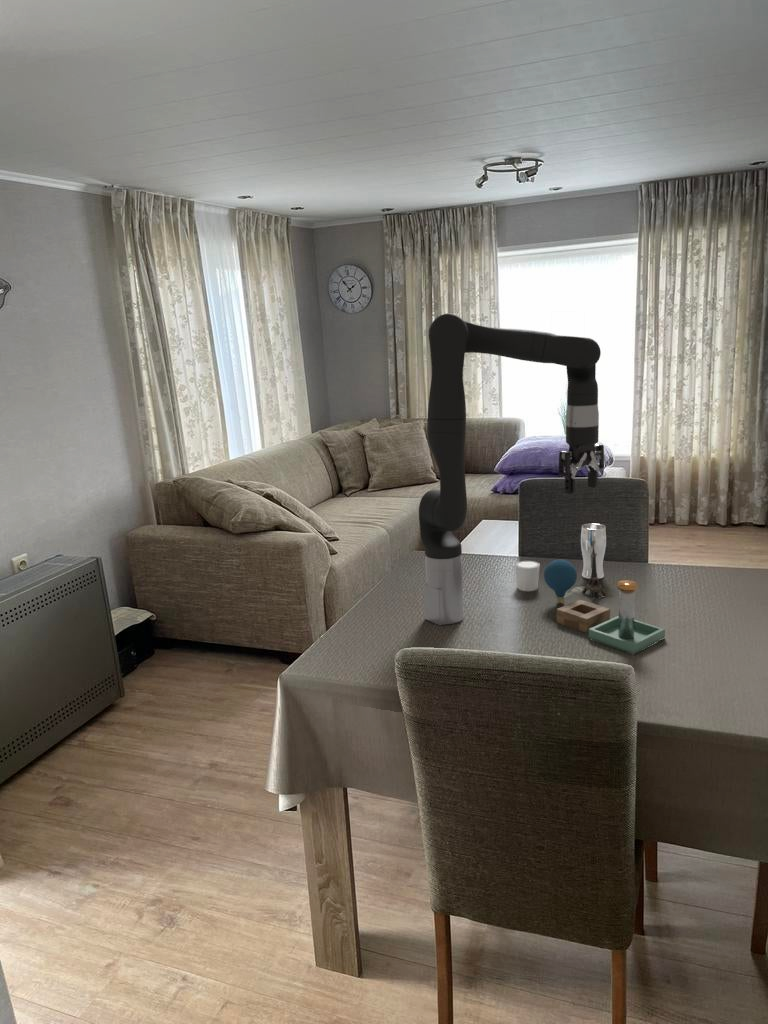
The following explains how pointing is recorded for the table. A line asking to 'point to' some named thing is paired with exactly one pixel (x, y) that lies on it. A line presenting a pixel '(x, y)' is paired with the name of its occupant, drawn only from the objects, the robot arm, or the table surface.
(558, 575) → the light bulb
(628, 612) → the pin
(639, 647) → the tray
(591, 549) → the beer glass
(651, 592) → the table surface
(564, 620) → the socket block
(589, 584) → the eiffel tower figurine
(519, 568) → the white cylinder
